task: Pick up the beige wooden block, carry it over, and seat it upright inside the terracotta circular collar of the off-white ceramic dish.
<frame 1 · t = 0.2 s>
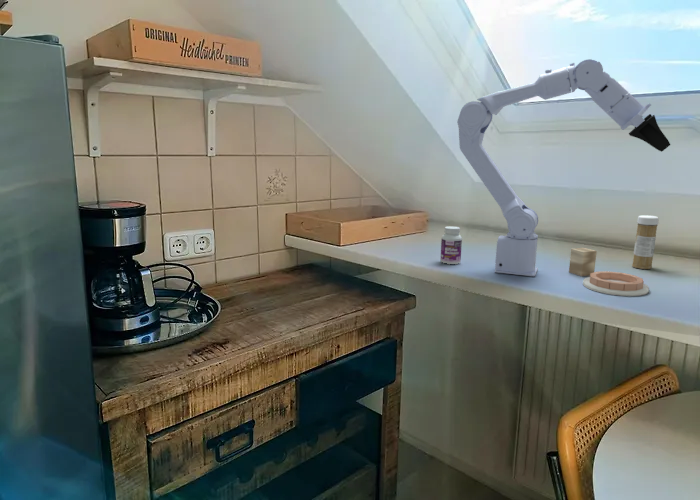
hand: (664, 147, 105), 31 cm above the worktop, tool tilted 45°, fingers open, 7 cm apart
beige wooden block: (581, 273, 121), on the worktop
sprinkles bottle: (641, 268, 127), on the worktop
collar dish: (614, 287, 110), on the worktop
pill bottle: (450, 263, 132), on the worktop
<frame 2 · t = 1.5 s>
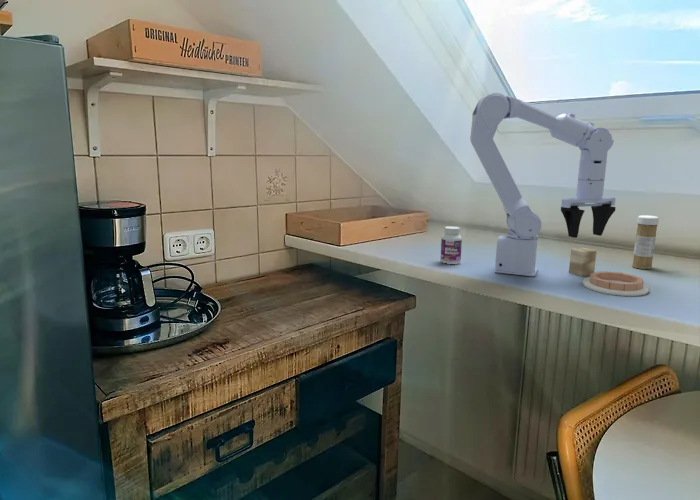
hand: (585, 236, 119), 9 cm above the worktop, tool pointing down, fingers open, 7 cm apart
nothing on the worktop moved.
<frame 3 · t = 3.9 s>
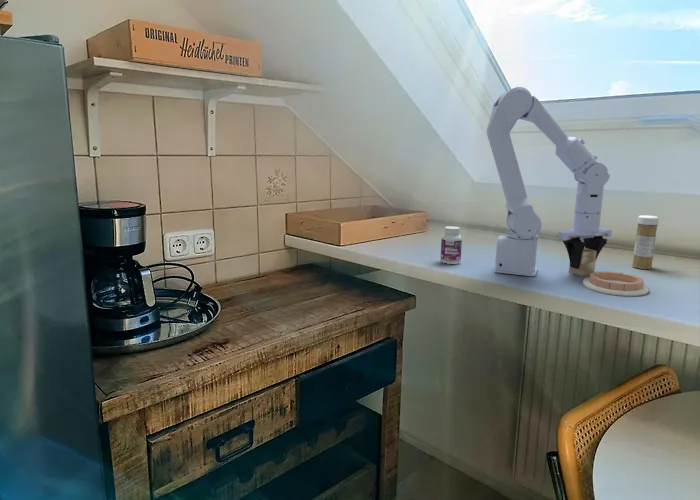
hand: (581, 267, 121), 2 cm above the worktop, tool pointing down, fingers closed on beige wooden block, 4 cm apart
beige wooden block: (581, 273, 121), on the worktop, touching gripper
everything else where it was.
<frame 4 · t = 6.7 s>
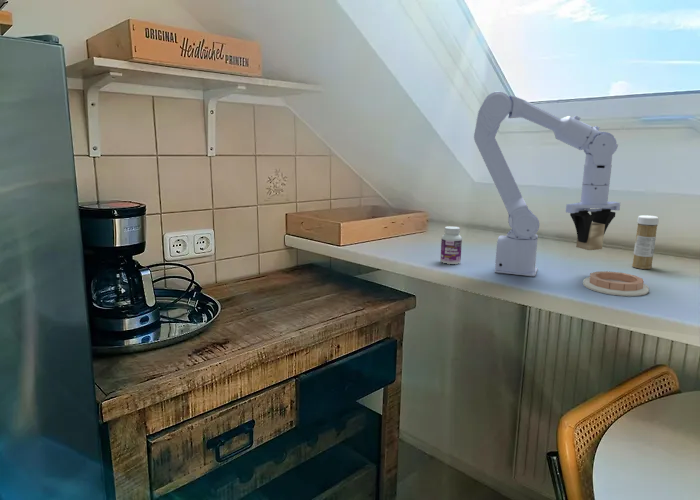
hand: (589, 241, 118), 8 cm above the worktop, tool pointing down, fingers closed on beige wooden block, 4 cm apart
beige wooden block: (589, 248, 118), point 7 cm above the worktop, touching gripper
everything else where it was.
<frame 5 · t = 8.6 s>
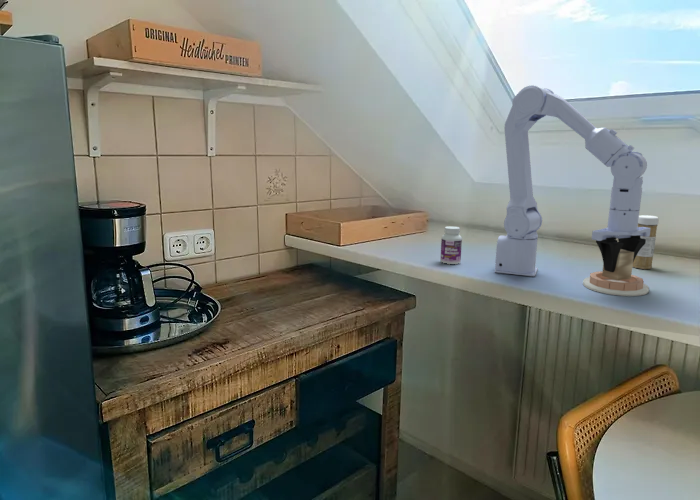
hand: (617, 270, 109), 4 cm above the worktop, tool pointing down, fingers closed on beige wooden block, 4 cm apart
beige wooden block: (616, 277, 109), point 2 cm above the worktop, touching gripper
everything else where it was.
when the fingers open (3 cm above the worktop, at t = 9.9 s): beige wooden block stays where it is, resting on collar dish.
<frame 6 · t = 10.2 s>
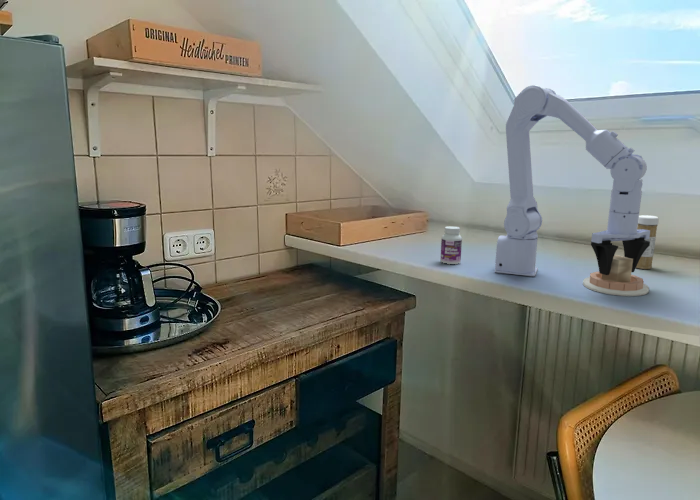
hand: (616, 272, 109), 3 cm above the worktop, tool pointing down, fingers open, 7 cm apart
beige wooden block: (615, 283, 109), point 1 cm above the worktop, touching collar dish
everything else where it was.
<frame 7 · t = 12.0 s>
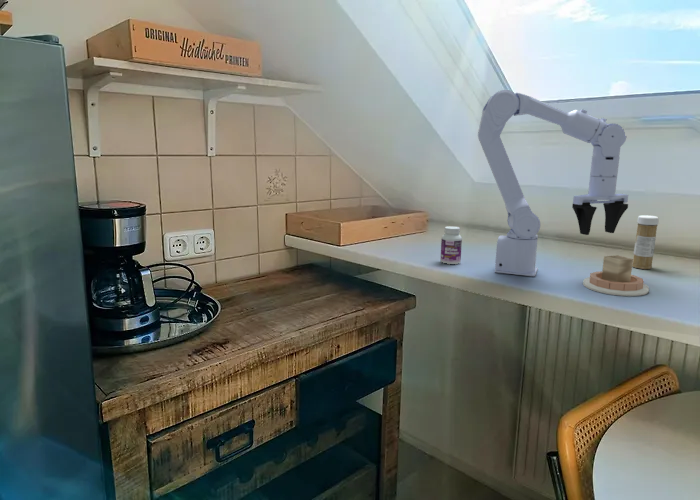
hand: (597, 233, 118), 10 cm above the worktop, tool pointing down, fingers open, 7 cm apart
nothing on the worktop moved.
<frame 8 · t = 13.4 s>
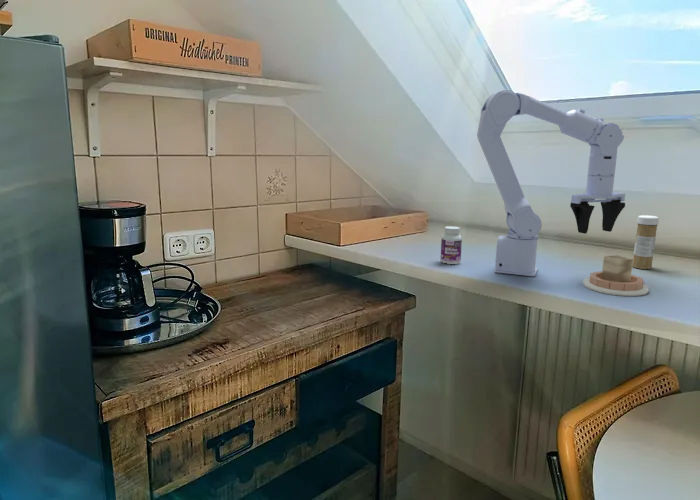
hand: (594, 231, 119), 10 cm above the worktop, tool pointing down, fingers open, 7 cm apart
nothing on the worktop moved.
at the end: beige wooden block 0.0 cm off-centre on the collar dish, point 0.8 cm above the collar dish's base; beige wooden block tilted 0°; the gripper is holding nothing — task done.
